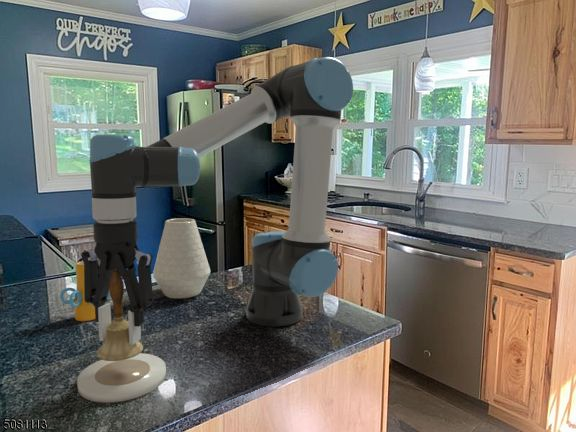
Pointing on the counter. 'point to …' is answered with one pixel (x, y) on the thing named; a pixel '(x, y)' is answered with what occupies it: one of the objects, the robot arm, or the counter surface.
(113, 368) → the hub plate
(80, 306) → the cylinder
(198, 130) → the robot arm
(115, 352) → the hand bell
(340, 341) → the counter surface
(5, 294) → the counter surface
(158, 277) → the vase
